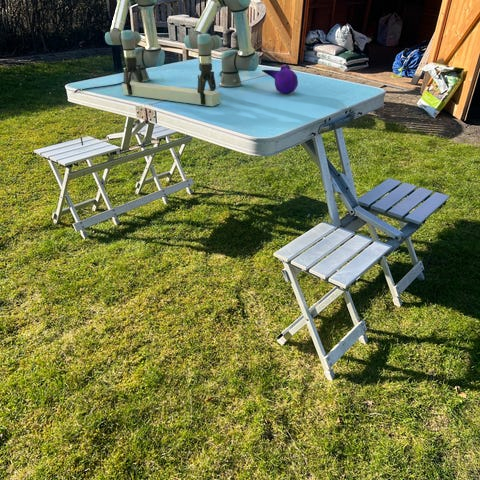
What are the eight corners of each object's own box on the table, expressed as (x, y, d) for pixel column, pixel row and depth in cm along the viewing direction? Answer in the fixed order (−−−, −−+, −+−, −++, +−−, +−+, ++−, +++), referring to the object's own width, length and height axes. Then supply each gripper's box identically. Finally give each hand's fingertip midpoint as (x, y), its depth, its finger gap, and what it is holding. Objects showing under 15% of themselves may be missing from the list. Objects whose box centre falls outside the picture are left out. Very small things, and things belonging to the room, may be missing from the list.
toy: (281, 86, 312) (297, 99, 291) (258, 82, 304) (273, 95, 284) (288, 63, 304) (305, 74, 283) (264, 58, 296) (281, 69, 276)
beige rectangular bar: (123, 94, 298) (122, 84, 295) (132, 91, 305) (131, 81, 301) (212, 106, 266) (211, 94, 263) (220, 102, 273) (220, 91, 269)
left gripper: (122, 60, 277) (128, 97, 289) (146, 54, 293) (150, 90, 304) (113, 59, 280) (119, 96, 292) (137, 54, 296) (141, 89, 308)
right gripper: (200, 66, 251) (202, 107, 262) (220, 60, 267) (222, 99, 278) (189, 65, 254) (192, 106, 266) (210, 59, 270) (212, 98, 282)
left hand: (135, 93), depth 298 cm, fingers closed on beige rectangular bar, 9 cm apart
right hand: (207, 102), depth 272 cm, fingers closed on beige rectangular bar, 9 cm apart
